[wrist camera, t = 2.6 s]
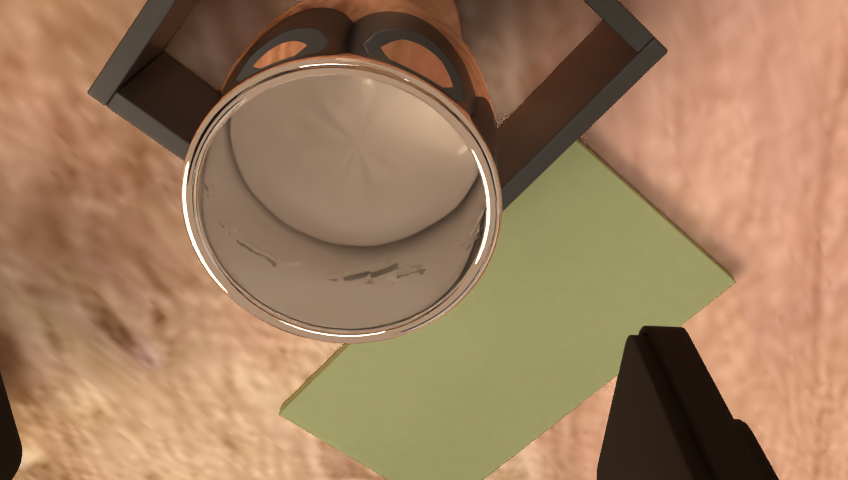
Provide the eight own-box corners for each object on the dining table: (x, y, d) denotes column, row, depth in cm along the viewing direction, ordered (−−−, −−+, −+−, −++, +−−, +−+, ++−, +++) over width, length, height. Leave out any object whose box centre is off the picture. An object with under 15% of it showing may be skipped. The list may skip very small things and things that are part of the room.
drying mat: (564, 126, 30) (567, 131, 29) (731, 275, 33) (736, 282, 33) (280, 406, 37) (278, 414, 37) (441, 503, 41) (441, 512, 40)
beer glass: (502, 72, 29) (565, 278, 16) (349, 148, 30) (290, 394, 17) (419, -101, 26) (412, -25, 13) (254, -6, 27) (95, 150, 14)
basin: (351, -265, 23) (334, -286, 19) (631, 15, 28) (669, 51, 23) (138, 52, 28) (86, 93, 24) (402, 247, 33) (399, 312, 28)
